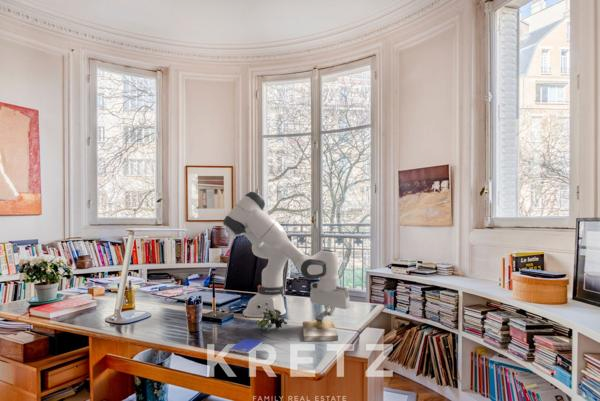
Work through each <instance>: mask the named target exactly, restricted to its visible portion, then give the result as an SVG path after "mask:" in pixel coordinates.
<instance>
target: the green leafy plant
mask: <svg viewBox="0 0 600 401" xmlns="http://www.w3.org/2000/svg"><path fill="white" fill-rule="evenodd" d="M274 311H275V312H276V313H275V312H274ZM274 311H271V310H269V311H268V313H266V312H264V311H263V314H265V315H264V317H262V319H261V320H258V319H257V320H256V322H255V325H257V328H260V329H262V330H265V327H266V326H267V331H266V333H268V332H269V331H270V329H271V328H272V327H273V325H275V329H279V328H281V329H283V326H282V325H283V324H284V325H287V324H288V322H287V321H285V318H284V317H282V316H283V315H280V314H281V312H280V311H279V310H277V309H274Z"/></svg>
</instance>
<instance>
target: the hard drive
mask: <svg viewBox="0 0 600 401" xmlns="http://www.w3.org/2000/svg"><path fill="white" fill-rule="evenodd" d="M263 343H264V341H263V340H262V339H253V338H244V339H243V340H240V341H239V342H238V343H236V344H234V345H233V346H231V347H230V348H229V350H231V351H230V352H233V351H235V352H236V353H239V354H240V353H241V354H246V353H247V354H250V353H251V352H252V351H254V350H256V349H257V347H259V346H260V345H261V344H263ZM235 352H234V353H235ZM247 354H246V355H247Z"/></svg>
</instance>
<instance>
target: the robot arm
mask: <svg viewBox="0 0 600 401" xmlns="http://www.w3.org/2000/svg"><path fill="white" fill-rule="evenodd" d="M265 206H266V203H265V200H264V198H263V197H262V196H261V194H259V193H257V192H254V191H249V192H247V193H246V194H245V195H244V197H241V199H240V200H239V201H238V202H237V203H236V204H235V206H234V207H233V208H231V210H230V211H229V213H228V214H227V215H225V217H224V218H223V221H222V223H223V224H222V225H223V226H224V229H226V231H227V232H229V233H230V234H232V235H235V236H238V235H241V234H243V235H244V237H246V239H248V241H249V242H250V243H251V251H252V254H253V255H254V256H256V257H258V258H260V259H265V260H268V262H267V265H266V266H265V267H264V268H263V269H262V271H261V285H260V284H258V285H257V293H256V294H255V295H254V296H252V298H250V299H249V300H248V303H247V306H246V308H245V309H244V310H243V311H242V316H243V315H244V316H243V317H245V316H247V318H249V317H250V318H263V317H264V315H265V314H263V311H264V312H266V313H268V311H269V310H271V311H274V309H277V310H279V311H280V312H281V314H280V315H282V316H283V315H285V314H286V313H287V310H286V306H285V299H284V295H285V286H284V284H283V283H284V281H283V280H284V279H283V278H284V270H285V266H286V263H287V261H288V260H290V261H291V262H293V264H294V266H295V269H296V270H297V272H298V274H300V275H301V276H302V277H304V279H307V280H314V279H319V280H318V281H315V282H311V283H310V293H309V297H310V298H309V299H310V303H311V304H315V305H320V306H323V308H324V311H325V310H326V312H327V316H328V317H333V316H334V312H335V309H336V308H337V309H342V310H347V309H349V308H350V307H351V302H350V294H349V293H350V292H349V290H348V288H346V287H344V286H340V277H339V269H340V268H339V267H340V266H339V257H338V253H337V252H336V251H334V250H331V249H327V248H325V249H323V248H322V249H320V250H319V251H318V252H317V253H315V254H313V255H310V254H308V253H304V252H303V251H301V249H299V248H298V247H297V246H296V245H295V244H294V243H293V242H291V240H290V238H289V237H288V234H287V232H286V230H285V229H284V227H283V226H282V225H281V223H280V222H278V221H277V220H276V219H275V218H274V217H272V216H271V215H270V214H269V213H267V212H266V211H264V208H265ZM274 312H275V311H274ZM275 313H276V312H275ZM327 316H326V317H327Z"/></svg>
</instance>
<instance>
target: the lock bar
mask: <svg viewBox="0 0 600 401" xmlns="http://www.w3.org/2000/svg"><path fill="white" fill-rule="evenodd" d="M326 317H327V312H326V310H325V309H324V311H322V312H320V314H316V315H315V320H318V321H321V320H322V321H324V318H326Z"/></svg>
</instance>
